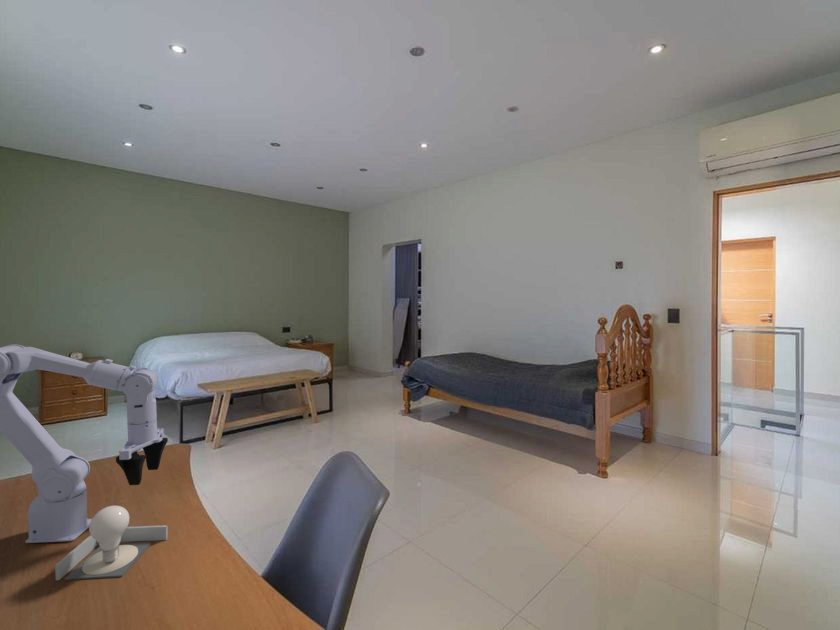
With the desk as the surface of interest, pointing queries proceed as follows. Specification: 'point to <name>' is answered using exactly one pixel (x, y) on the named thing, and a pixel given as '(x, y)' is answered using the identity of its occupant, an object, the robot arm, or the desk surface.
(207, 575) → the desk surface
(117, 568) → the mat
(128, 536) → the acrylic fence
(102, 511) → the lightbulb
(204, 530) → the desk surface
